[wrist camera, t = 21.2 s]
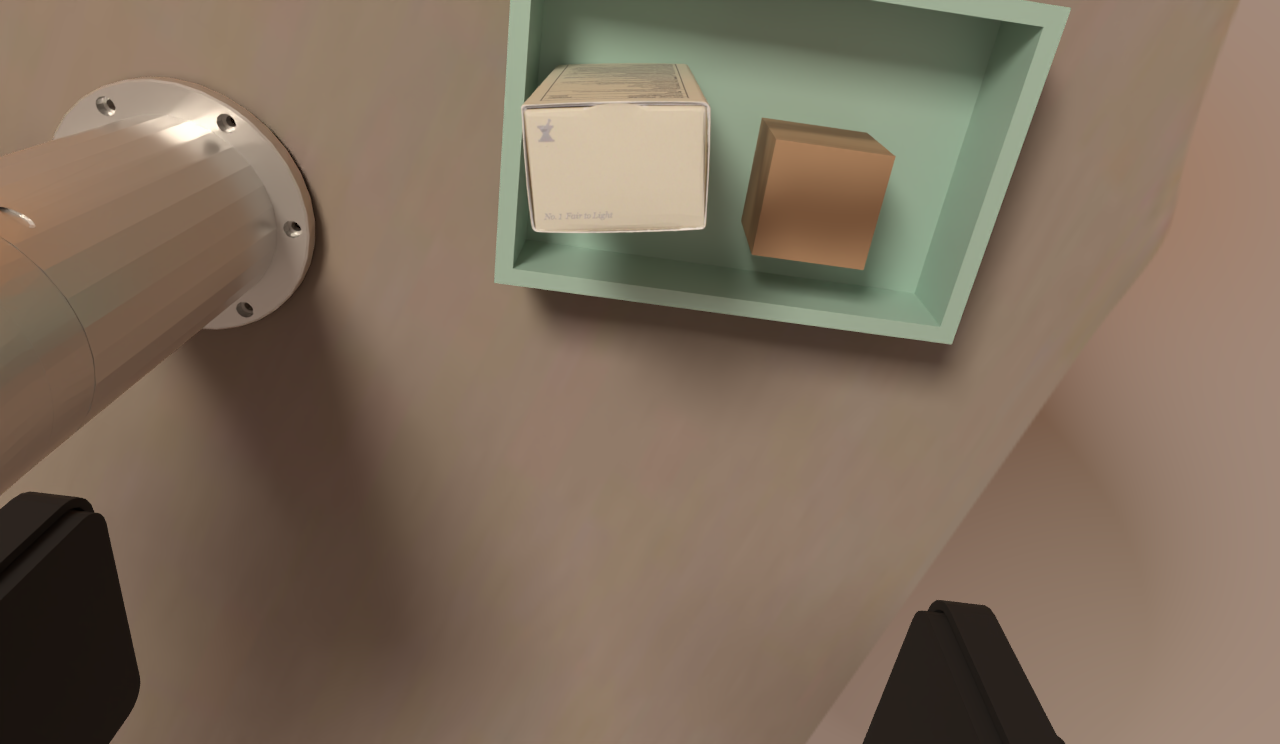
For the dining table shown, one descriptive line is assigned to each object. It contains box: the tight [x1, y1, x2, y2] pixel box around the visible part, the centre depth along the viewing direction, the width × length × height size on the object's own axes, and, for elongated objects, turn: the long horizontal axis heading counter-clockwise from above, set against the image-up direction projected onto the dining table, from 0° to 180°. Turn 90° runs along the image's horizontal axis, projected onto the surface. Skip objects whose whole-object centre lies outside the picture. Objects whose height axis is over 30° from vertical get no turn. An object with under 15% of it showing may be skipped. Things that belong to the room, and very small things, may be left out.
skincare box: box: [521, 63, 711, 233], centre depth 32 cm, size 6×4×12 cm
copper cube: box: [741, 117, 896, 270], centre depth 36 cm, size 5×5×5 cm
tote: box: [494, 0, 1071, 345], centre depth 36 cm, size 22×15×5 cm
